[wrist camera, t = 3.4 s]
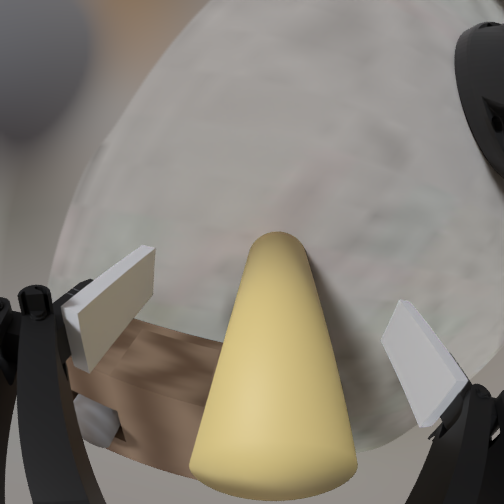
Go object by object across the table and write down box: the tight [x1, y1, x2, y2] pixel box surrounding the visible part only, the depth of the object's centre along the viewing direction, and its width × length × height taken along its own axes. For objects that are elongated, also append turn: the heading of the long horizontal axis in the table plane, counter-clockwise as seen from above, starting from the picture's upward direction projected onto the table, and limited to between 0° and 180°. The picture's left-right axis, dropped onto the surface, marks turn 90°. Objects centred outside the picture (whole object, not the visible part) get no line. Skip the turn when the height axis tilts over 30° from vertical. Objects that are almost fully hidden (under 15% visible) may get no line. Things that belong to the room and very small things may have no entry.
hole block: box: [66, 318, 223, 480], centre depth 20 cm, size 24×14×9 cm, turn 78°
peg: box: [189, 232, 358, 501], centre depth 12 cm, size 4×4×15 cm
